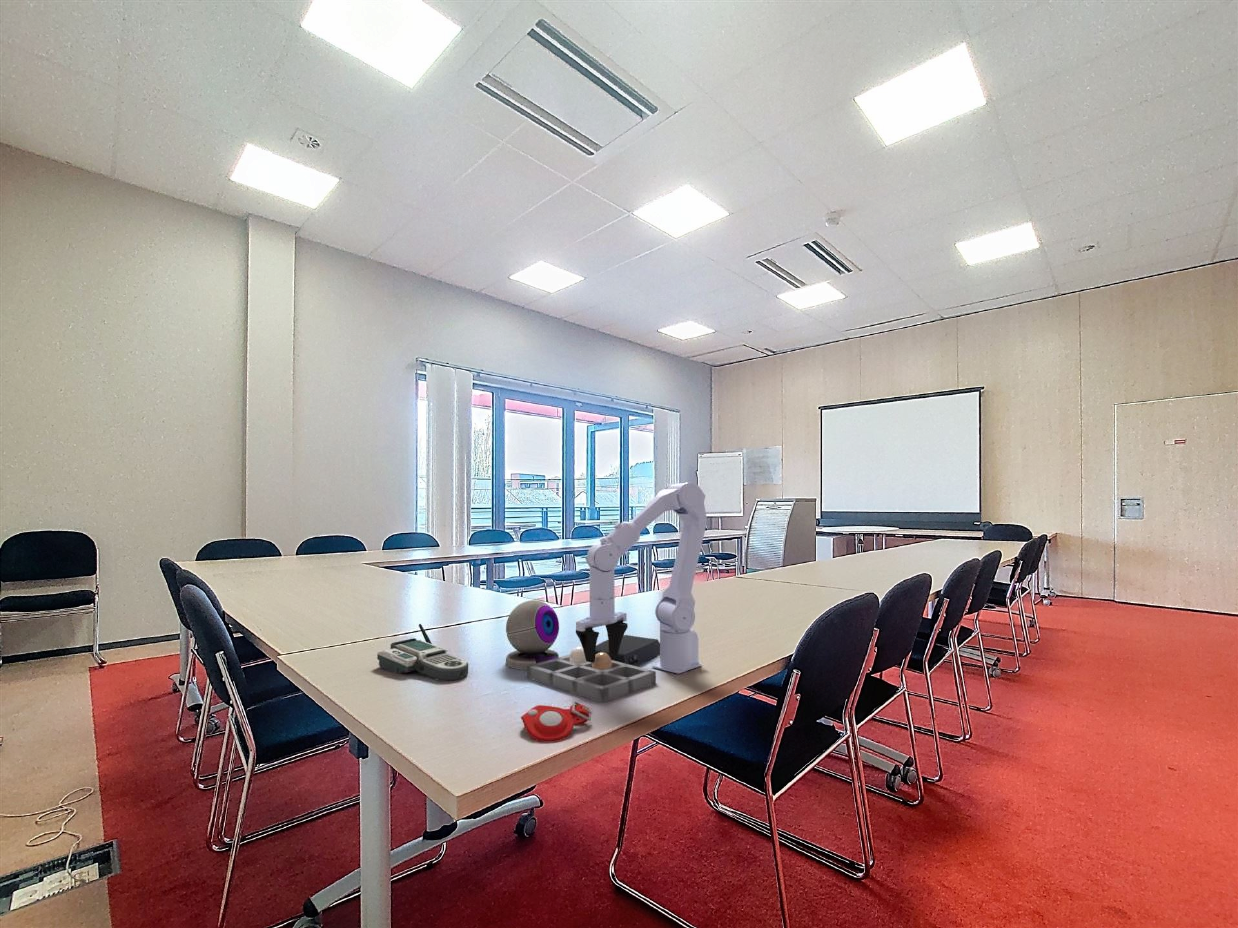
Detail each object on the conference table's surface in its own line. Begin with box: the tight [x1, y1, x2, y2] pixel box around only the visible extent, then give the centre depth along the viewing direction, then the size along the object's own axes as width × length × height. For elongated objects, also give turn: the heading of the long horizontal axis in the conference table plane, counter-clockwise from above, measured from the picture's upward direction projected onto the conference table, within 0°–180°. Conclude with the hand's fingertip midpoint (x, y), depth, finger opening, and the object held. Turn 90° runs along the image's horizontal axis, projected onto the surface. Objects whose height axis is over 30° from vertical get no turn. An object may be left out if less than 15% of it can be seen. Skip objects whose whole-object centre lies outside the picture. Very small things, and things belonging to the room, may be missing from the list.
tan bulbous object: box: [592, 652, 612, 671], centre depth 131 cm, size 4×4×5 cm
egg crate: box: [526, 654, 657, 704], centre depth 128 cm, size 24×16×2 cm
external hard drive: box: [595, 634, 660, 667], centre depth 147 cm, size 13×19×4 cm
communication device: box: [376, 623, 469, 682], centre depth 136 cm, size 12×24×9 cm, turn 54°
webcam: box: [505, 599, 560, 671], centre depth 143 cm, size 13×13×15 cm
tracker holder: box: [520, 699, 593, 743], centre depth 101 cm, size 12×4×10 cm
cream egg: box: [569, 646, 587, 664], centre depth 136 cm, size 4×4×5 cm
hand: (602, 658), depth 131 cm, fingers open, 7 cm apart
